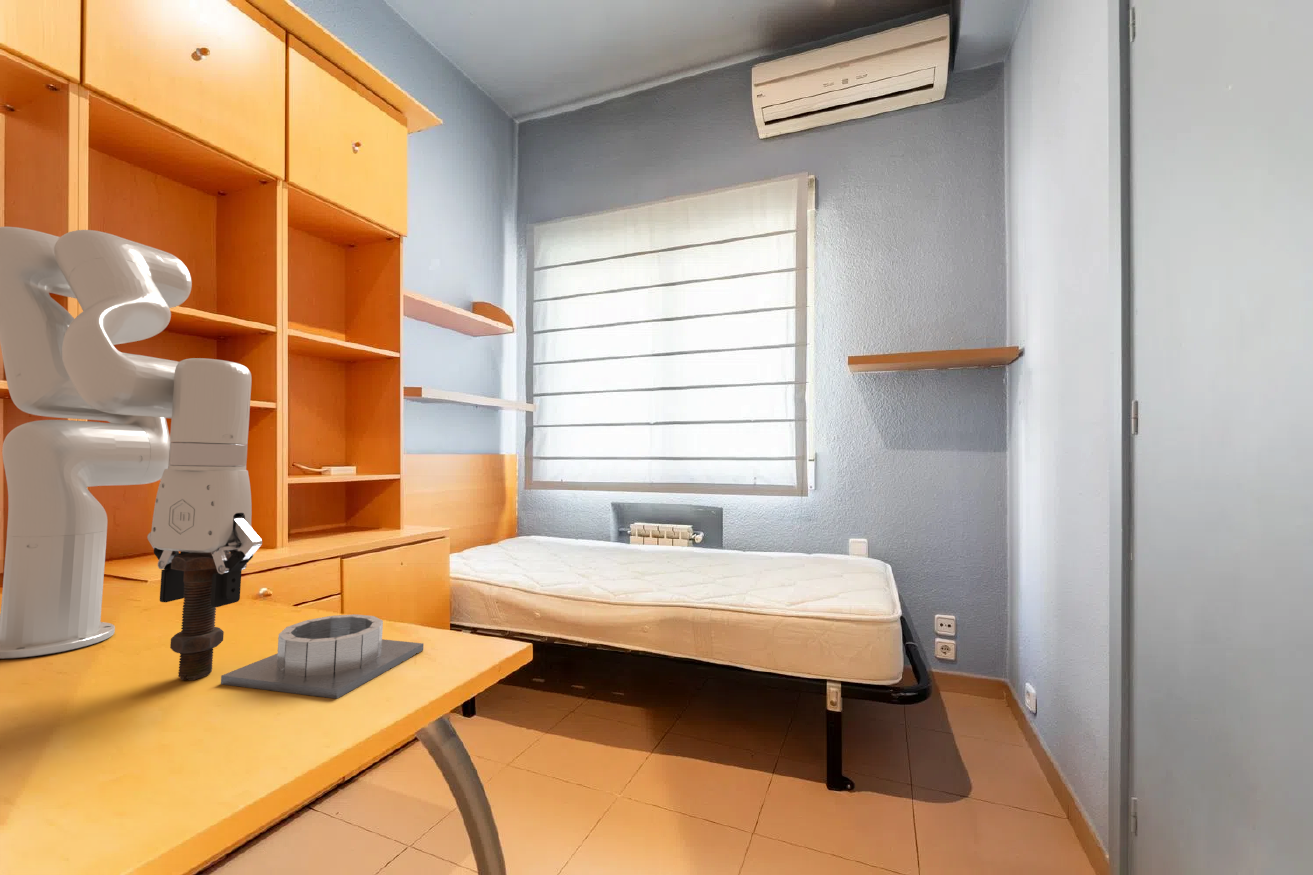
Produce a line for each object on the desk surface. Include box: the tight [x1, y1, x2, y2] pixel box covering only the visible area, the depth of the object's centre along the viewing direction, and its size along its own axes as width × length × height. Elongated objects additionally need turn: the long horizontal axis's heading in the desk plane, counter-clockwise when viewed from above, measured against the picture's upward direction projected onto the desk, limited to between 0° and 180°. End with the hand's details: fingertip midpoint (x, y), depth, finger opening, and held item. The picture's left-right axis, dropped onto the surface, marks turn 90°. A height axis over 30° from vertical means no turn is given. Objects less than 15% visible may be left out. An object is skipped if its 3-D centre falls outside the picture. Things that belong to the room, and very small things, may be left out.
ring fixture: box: [220, 613, 424, 700], centre depth 70 cm, size 16×16×5 cm
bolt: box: [170, 552, 231, 682], centre depth 66 cm, size 6×5×15 cm
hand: (200, 600), depth 66 cm, fingers open, 6 cm apart
